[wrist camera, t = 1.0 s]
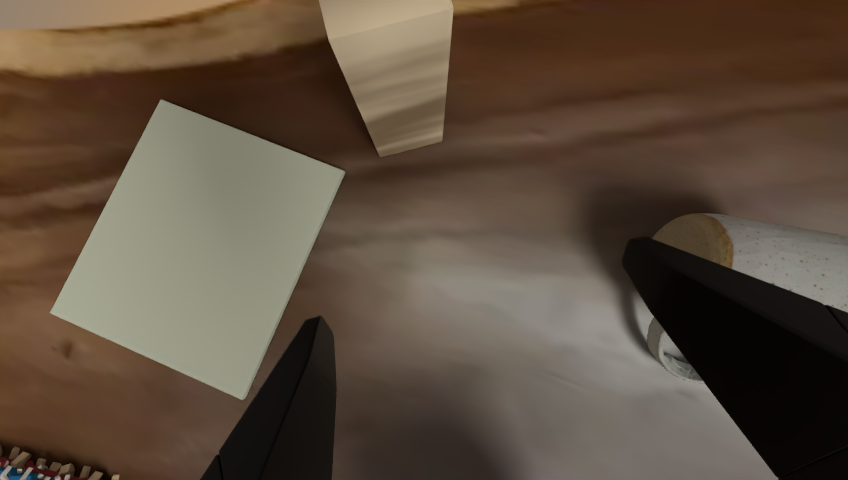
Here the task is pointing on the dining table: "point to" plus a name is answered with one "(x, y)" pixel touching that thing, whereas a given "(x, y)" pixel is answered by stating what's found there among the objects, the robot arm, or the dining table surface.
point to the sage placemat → (200, 247)
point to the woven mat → (40, 469)
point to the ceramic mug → (757, 263)
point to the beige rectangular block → (394, 66)
